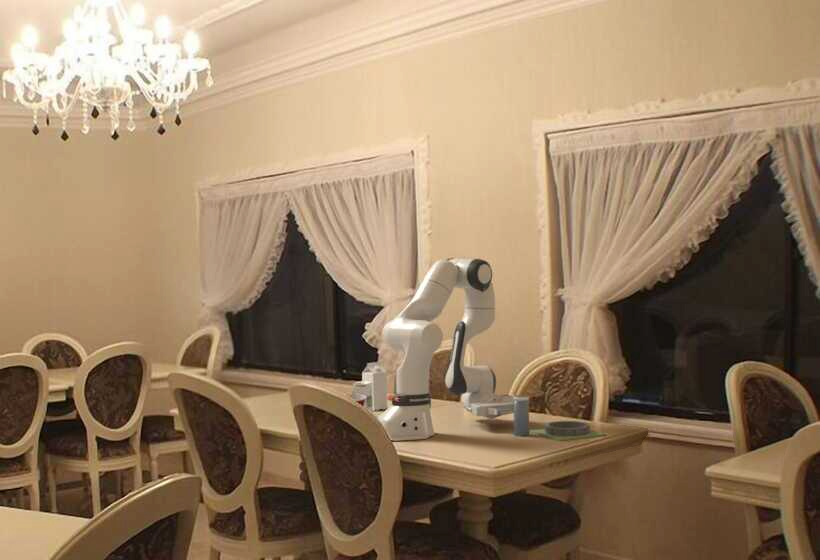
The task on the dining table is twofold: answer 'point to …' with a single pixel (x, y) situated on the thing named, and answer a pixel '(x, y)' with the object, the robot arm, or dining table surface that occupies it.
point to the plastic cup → (358, 398)
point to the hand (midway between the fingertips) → (510, 411)
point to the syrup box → (364, 392)
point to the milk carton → (376, 384)
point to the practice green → (567, 430)
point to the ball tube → (521, 415)
